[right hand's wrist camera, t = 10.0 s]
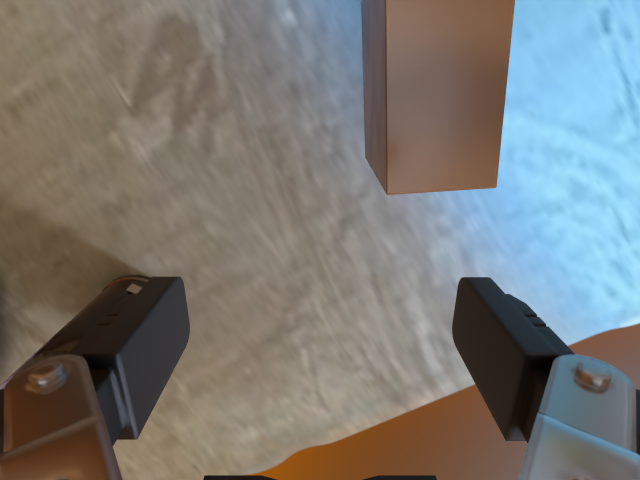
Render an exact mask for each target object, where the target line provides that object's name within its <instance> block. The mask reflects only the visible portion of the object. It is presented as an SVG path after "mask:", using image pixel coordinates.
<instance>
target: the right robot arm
mask: <svg viewBox="0 0 640 480" xmlns="http://www.w3.org/2000/svg"><path fill="white" fill-rule="evenodd" d="M189 332H190V324H189V317H188V310H187V303H186V296H185V289H184V283H183V280H182V278H181V277H152V278H151V279H148V278H145V277H140V276H126V277H121V278H118V279H116V280H114V281H113V282H111V283H110V284H109V285H108V286H107V287H106V288H105V289H104V290H103V291H102V292H101V293H100V294H99V295H98V296H97V297H96V298H95V299H94V300H93V301H91V302H90V303H89V304H88V305H87V306H86V307H85V308H84V309H83V310H82V311H81V312H79V313H78V314H77V315H76V316H75V317H74V318H73V319H72V320H71V321H70V322H69V323H67V324H66V325H65V326H64V327H63V328H62V329H61V330H60V331H59V332H58V333H57V334H55V335H54V336H53V337H52V338H51V339H50V340H49V341H48V342H47V343H46V344H45V345H43V346H42V347H41V348H40V349H39V350H38V351H37V352H36V353H35V354H34V355H33V356H31V357H30V358H29V359H28V360H27V361H26V362H25V363H24V364H23V365H22V366H21V367H20V368H19V369H18V370H16V371H15V372H14V373H13V374H12V375H11V376H10V377H9V378H8V379H7V380H6V381H4V382H3V383H2V384H1V385H0V480H122V477H121V473H120V470H119V467H118V463H117V460H116V456H115V453H114V450H113V445H114V443H115V442H116V440H117V439H137V438H138V437H139V435H140V433H141V431H142V429H143V427H144V425H145V423H146V421H147V419H148V418H149V416H150V414H151V412H152V410H153V408H154V406H155V404H156V402H157V400H158V399H159V397H160V395H161V393H162V391H163V389H164V387H165V385H166V383H167V382H168V380H169V378H170V376H171V374H172V372H173V370H174V368H175V366H176V364H177V363H178V361H179V359H180V357H181V355H182V353H183V351H184V349H185V347H186V345H187V343H188V339H189ZM452 333H453V340H454V343H455V346H456V348H457V350H458V352H459V354H460V355H461V357H462V359H463V361H464V363H465V365H466V367H467V369H468V370H469V372H470V374H471V376H472V378H473V380H474V382H475V384H476V385H477V387H478V389H479V391H480V393H481V395H482V397H483V399H484V401H485V402H486V404H487V406H488V408H489V410H490V412H491V413H492V416H493V417H494V419H495V421H496V423H497V425H498V427H499V429H500V430H501V432H502V434H503V436H504V438H505V440H506V441H527V443H528V446H527V450H526V453H525V456H524V460H523V463H522V467H521V470H520V473H519V477H518V480H640V390H637V389H635V387H634V385H633V383H632V382H631V380H630V379H629V378H628V377H627V376H626V375H625V374H623V373H622V372H621V371H619V370H618V369H616V368H614V367H613V366H611V365H609V364H607V363H605V362H602V361H600V360H597V359H594V358H591V357H587V356H582V355H575V354H574V353H573V351H572V350H571V349H570V348H569V347H568V346H567V345H566V344H565V343H564V342H563V341H562V340H561V339H560V338H559V337H558V336H557V335H556V334H555V333H554V332H553V331H552V330H551V329H550V328H549V327H546V324H545V323H544V322H543V321H542V320H541V319H540V318H539V317H537V314H536V313H535V312H534V311H533V310H532V309H531V308H530V307H529V306H528V305H527V304H526V303H524V302H522V301H520V300H519V299H517V298H515V297H513V296H512V295H510V294H505V293H504V292H503V291H502V290H501V289H500V288H499V287H498V286H497V284H496V283H495V282H494V281H493V280H492V279H491V278H489V277H463V278H461V279H460V281H459V284H458V290H457V297H456V304H455V310H454V317H453V325H452ZM203 480H276V479H272V478H269V477H265V476H204V479H203ZM364 480H437V479H436V476H375V477H371V478H368V479H364Z"/></svg>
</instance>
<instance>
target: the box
mask: <svg viewBox="0 0 640 480" xmlns="http://www.w3.org/2000/svg"><path fill="white" fill-rule="evenodd" d="M514 4H515V0H361V11H362V48H363V86H364V124H365V158H366V159H367V161H368V163H369V165H370V166H371V168H372V170H373V172H374V173H375V175H376V177H377V179H378V180H379V182H380V184H381V186H382V187H383V189H384V191H385V192H386V194H387V195H392V194H407V193H423V192H439V191H455V190H470V189H486V188H496V186H497V176H498V166H499V156H500V146H501V135H502V125H503V115H504V105H505V95H506V85H507V75H508V65H509V55H510V45H511V35H512V25H513V15H514Z"/></svg>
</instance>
